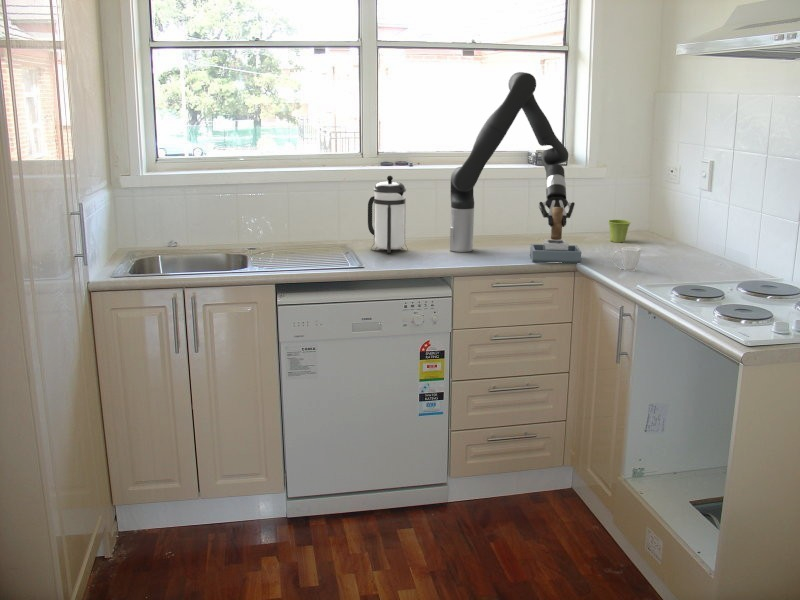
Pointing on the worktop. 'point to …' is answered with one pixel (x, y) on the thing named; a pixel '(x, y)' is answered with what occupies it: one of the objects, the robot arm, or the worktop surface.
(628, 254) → the cup
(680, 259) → the worktop surface
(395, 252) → the worktop surface
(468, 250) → the robot arm
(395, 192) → the coffee press
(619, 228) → the plant pot
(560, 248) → the bore block
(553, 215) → the peg
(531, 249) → the bin
